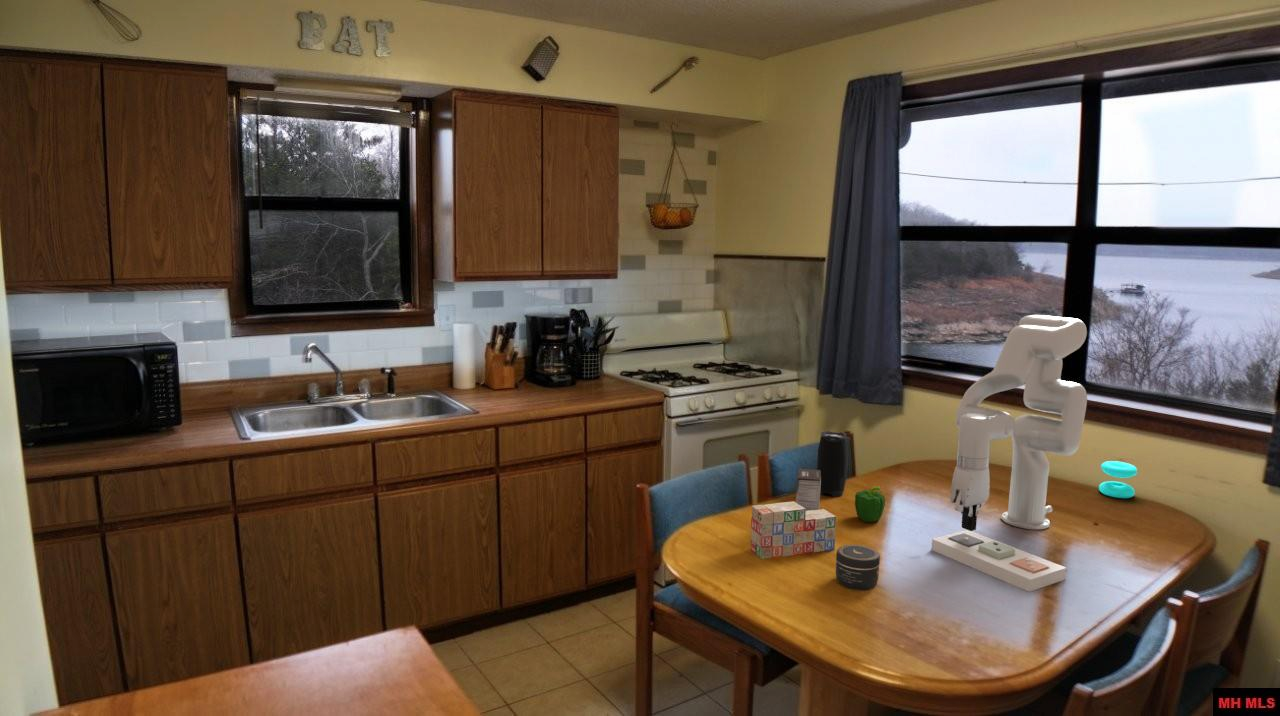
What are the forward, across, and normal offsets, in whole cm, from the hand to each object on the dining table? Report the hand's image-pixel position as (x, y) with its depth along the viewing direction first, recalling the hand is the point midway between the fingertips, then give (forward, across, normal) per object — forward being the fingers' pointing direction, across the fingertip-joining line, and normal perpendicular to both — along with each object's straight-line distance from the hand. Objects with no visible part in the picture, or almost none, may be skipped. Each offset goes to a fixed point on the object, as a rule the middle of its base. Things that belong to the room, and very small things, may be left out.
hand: (968, 528), depth 207 cm
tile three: (+5, +1, +18) cm, 19 cm away
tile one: (+5, +1, 0) cm, 5 cm away
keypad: (+6, +1, +9) cm, 11 cm away
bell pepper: (+6, +6, -29) cm, 30 cm away
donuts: (+9, -83, -8) cm, 84 cm away
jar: (+5, +40, 0) cm, 40 cm away
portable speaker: (+7, -1, -52) cm, 52 cm away
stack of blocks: (+5, +41, -22) cm, 47 cm away
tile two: (+4, +1, +9) cm, 10 cm away
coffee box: (+6, +27, -32) cm, 42 cm away
